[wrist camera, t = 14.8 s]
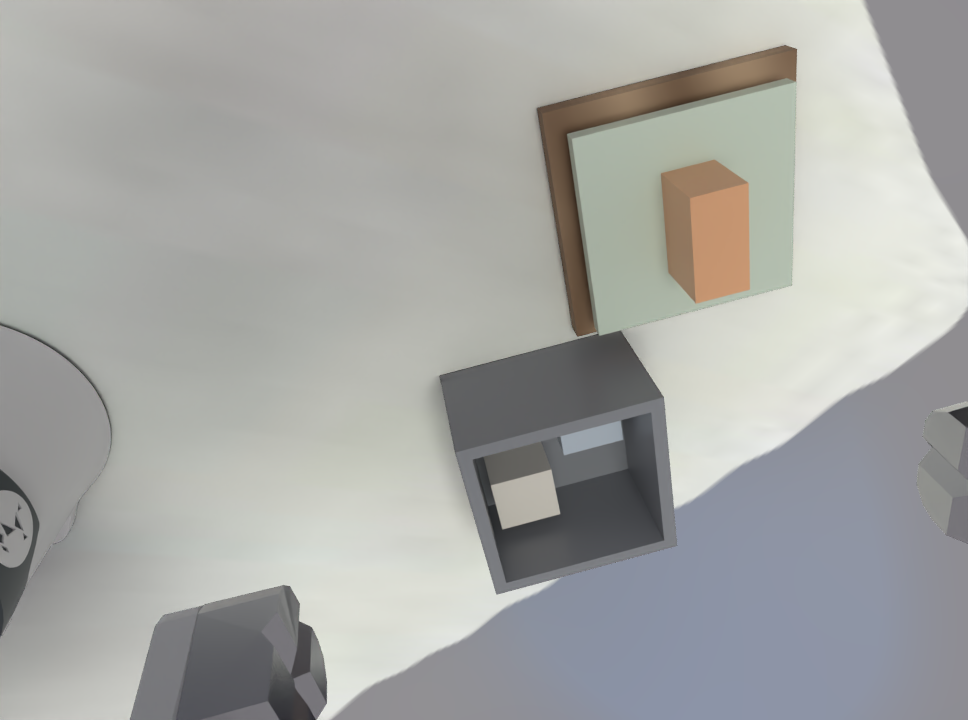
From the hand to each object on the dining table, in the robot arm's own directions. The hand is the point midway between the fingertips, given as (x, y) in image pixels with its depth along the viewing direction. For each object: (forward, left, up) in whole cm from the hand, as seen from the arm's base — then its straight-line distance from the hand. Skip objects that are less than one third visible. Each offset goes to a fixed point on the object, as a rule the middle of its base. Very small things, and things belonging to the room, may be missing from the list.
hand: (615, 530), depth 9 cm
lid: (+13, -11, -33) cm, 37 cm away
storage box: (+3, -25, -34) cm, 42 cm away
